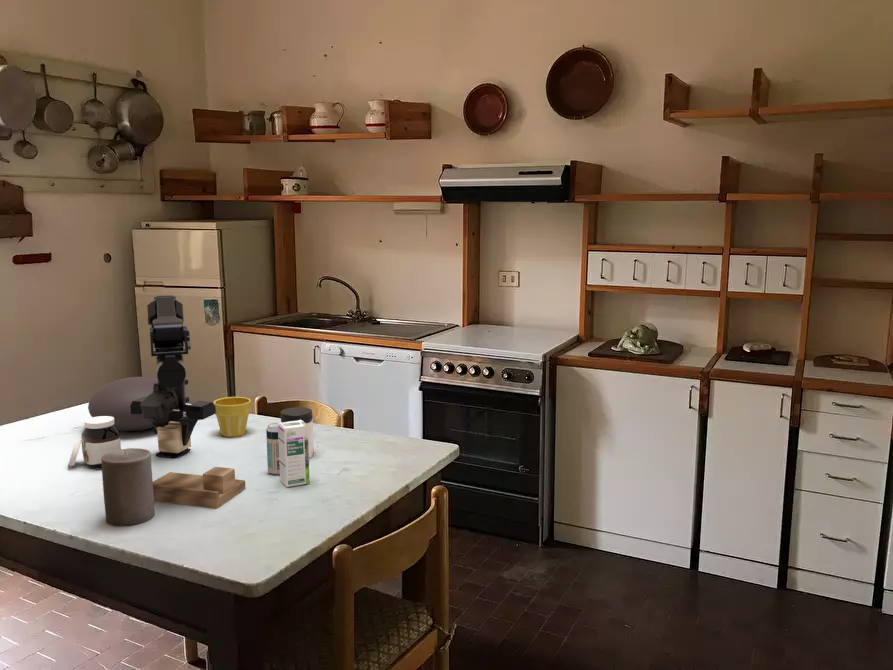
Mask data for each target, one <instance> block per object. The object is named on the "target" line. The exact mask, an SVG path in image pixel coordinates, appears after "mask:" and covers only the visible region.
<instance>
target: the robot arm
mask: <svg viewBox="0 0 893 670" xmlns="http://www.w3.org/2000/svg"><path fill="white" fill-rule="evenodd" d="M153 299H154V300H153V301H151V302H150V303H149V304H147V305H146V310H147V325H148V326H150V327H149V339H150V356H151V357H155V360H156V363H155V364H156V377H157V378H156V379H157V382H158V383H155V384H154V386H153V393H152V394H150V395H149V396H144V397H141V398H139V399H136V400H133V401H132V402H131V404H130V414H139V415H141V414H142V413H143V418H146V419H148V420H149V421H151V422H152V423H153V425H154V427H153V428H154V435H156V436H158V433H157V427H164V426H167V425H169V422H170V421H173V422H180V424H181V429H182V443H183V446H186V445H187V444H188V441H189V439H190V436H192V434H193V430H194V429H195V427H196V424H197V422H198V421H201V420H202V421H203V420H205V419H207V418H209V417H211V416H213V415H215V414H216V406H215V405H214V403H213V402H214V401H206V400H198V401H195V402H193V403H190V404H187V403H189V402H190V397H188V396H186V386H187V385H189V379H186V378H187V377H186V376H187V370H186V367H185V363H184V356H183V355H189V351H190V350H191V349H192V348H191V339H190V338H191V337H190V330H188V326H187V325H186V326H185V325H184V318H185V317H184V306H183V303H182V302H180V301H178V300H177V298H176V296H174V295H172V294H170V295H165V294H164V295H156V296H153ZM154 349H155V350H154ZM188 452H191V448H190V447H189V448H187V449H185V450H183V451H181V452H179V453H171V452H162V451H159V450H158V452H157V453H155V456H156V457H164V458H174V459H175V458H180V457H181V456H183V455H184V454H186V453H188Z"/></svg>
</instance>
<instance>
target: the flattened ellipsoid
mask: <svg viewBox="0 0 893 670" xmlns="http://www.w3.org/2000/svg"><path fill="white" fill-rule="evenodd" d="M155 383H158V382H157V378H155V377H149V376H131V377H125V378H120V379H117V380H113V381H110V382H109V383H107V384H105V385H102V386H101V387H100V388H98V389H97V390H96V391H94V393H93V394H92V396H91V397H90V399H89V400H88V403H87V409H88V413H89V415H90V417H91V418H92V417H98V416H111V417H113V418H114V425H115V427H116V428H117V430H118V431H120V432H121V431H122V432H137V431H139V432H140V431H143V430H148V429H153V428H155V427H154V425H153V423H152V422H151V421H149V420H148V419H146V418H143V413H142V414H141V415H139V414H130V404H131V402H132V401H133V400H136V399H139V398H141V397H144V396H149V395H150V394H152V393H153V386H154V384H155Z"/></svg>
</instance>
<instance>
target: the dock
mask: <svg viewBox="0 0 893 670" xmlns="http://www.w3.org/2000/svg"><path fill="white" fill-rule="evenodd" d="M244 490H246V480H245V479H237V478H235V486H234V487H232V488H231V489H229V490H228V491H226V492H225V493H219V491H212V490H203V475H200V474H192V473H180V472H172V471H169V472H168V473H165V474H164V475H162V476H160V477H159V478H157V479H155V480H153V494H154V502H155V501H156V502H163V503H172V504H180V505H188V506H196V507H204V508H212V509H213V508H214V509H219V508H221V506H224V504H226V503H227V502H229V501H230V500H231V499H233V498H234V497H236V496H237V495H238V494H240V493H242V492H243V491H244Z"/></svg>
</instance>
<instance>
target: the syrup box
mask: <svg viewBox="0 0 893 670" xmlns="http://www.w3.org/2000/svg"><path fill="white" fill-rule="evenodd" d="M277 423H278V440H279V464H280V474H279V479H280V481H281V483H282V484H283V485H284V486H285V487H286V488H290V487H295V486H303V485H309V484H311V483H310V480H311V478H310V477H311V476H310V458H309V447H308V426H307V424H306V423H305V422H304V421H302V420H298V421H290V422H283V423H281V422H277Z"/></svg>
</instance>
